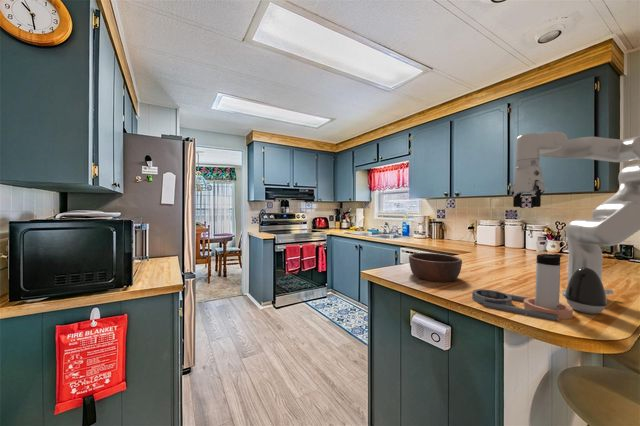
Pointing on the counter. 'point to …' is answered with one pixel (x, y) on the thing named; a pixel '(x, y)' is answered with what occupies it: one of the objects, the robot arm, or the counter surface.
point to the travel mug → (547, 281)
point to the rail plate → (506, 303)
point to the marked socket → (562, 313)
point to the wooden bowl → (435, 266)
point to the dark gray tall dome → (586, 292)
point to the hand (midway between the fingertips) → (526, 206)
